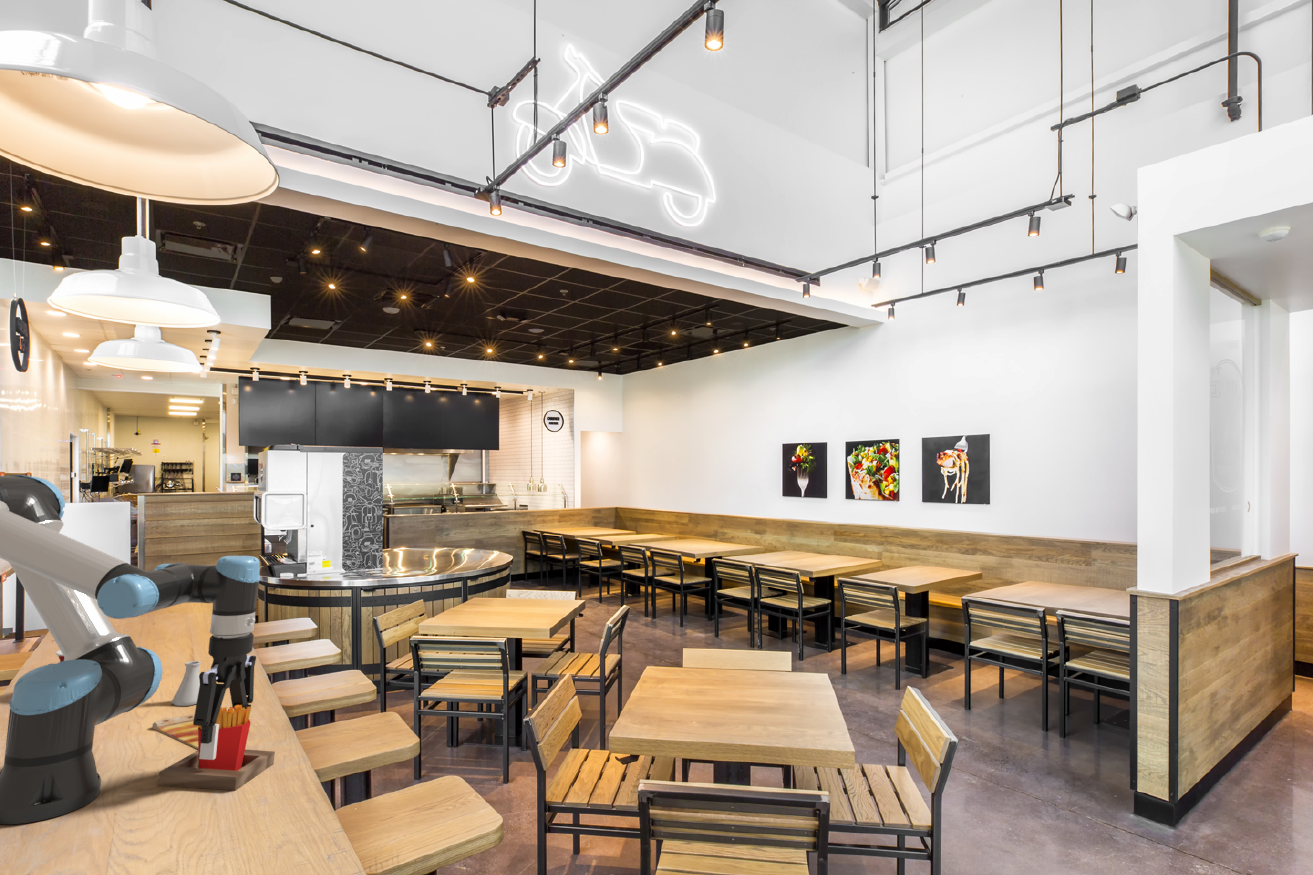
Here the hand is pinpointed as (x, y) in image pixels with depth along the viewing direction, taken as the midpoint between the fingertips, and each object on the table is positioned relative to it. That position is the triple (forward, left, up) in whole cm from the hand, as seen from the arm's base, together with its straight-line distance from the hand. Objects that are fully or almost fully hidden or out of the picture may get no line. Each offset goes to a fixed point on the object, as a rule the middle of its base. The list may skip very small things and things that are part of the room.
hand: (221, 750), depth 131 cm
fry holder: (0, 0, -5) cm, 5 cm away
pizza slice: (+18, +21, -5) cm, 28 cm away
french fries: (0, 0, -5) cm, 5 cm away
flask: (+37, +34, -5) cm, 50 cm away
